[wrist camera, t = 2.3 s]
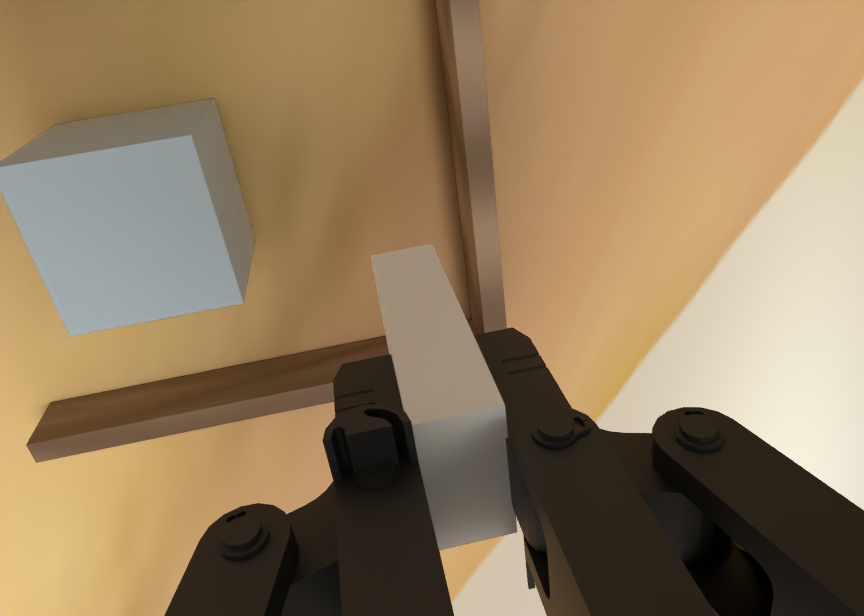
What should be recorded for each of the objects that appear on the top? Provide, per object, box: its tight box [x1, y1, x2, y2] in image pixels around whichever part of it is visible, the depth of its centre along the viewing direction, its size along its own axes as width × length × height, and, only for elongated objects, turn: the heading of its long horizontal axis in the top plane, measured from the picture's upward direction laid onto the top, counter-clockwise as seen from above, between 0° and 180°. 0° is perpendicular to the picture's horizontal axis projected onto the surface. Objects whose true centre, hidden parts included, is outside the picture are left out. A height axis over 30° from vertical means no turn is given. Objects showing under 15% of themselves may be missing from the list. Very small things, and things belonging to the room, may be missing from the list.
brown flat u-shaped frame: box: [26, 0, 507, 463], centre depth 25 cm, size 20×21×3 cm
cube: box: [0, 98, 255, 337], centre depth 24 cm, size 6×6×6 cm
